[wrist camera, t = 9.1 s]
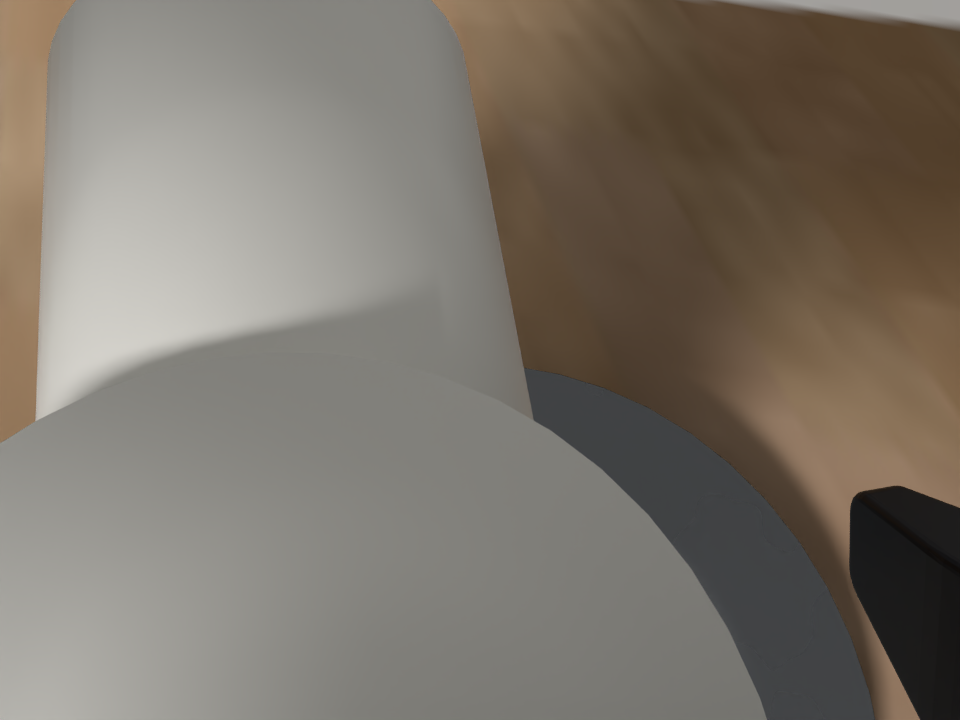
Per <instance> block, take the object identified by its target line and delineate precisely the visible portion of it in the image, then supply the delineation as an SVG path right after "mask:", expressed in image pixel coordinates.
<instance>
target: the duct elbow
mask: <svg viewBox="0 0 960 720" xmlns="http://www.w3.org/2000/svg"><path fill="white" fill-rule="evenodd" d="M0 720H767V718H766V715H765V712H764V709H763V706H762V703H761V700H760V697H759V695H758V693H757V691H756V688H755V686H754V684H753V682H752V680H751V677H750V675H749V673H748V671H747V669H746V667H745V664H744V662H743V660H742V658H741V656H740V654H739V651H738V649H737V647H736V645H735V643H734V641H733V638H732V636H731V634H730V632H729V630H728V628H727V626H726V625H725V623H724V621H723V620H722V618H721V617H720V615H719V613H718V612H717V610H716V608H715V607H714V605H713V604H712V602H711V600H710V599H709V597H708V595H707V594H706V592H705V591H704V589H703V587H702V586H701V584H700V582H699V581H698V579H697V577H696V576H695V574H694V573H693V571H692V569H691V568H690V567H689V565H688V564H687V563H686V562H685V560H684V559H683V558H682V557H681V555H680V554H679V553H678V552H677V550H676V549H675V548H674V546H673V545H672V544H671V543H670V541H669V540H668V539H667V538H666V536H665V535H664V534H663V533H662V531H661V530H660V529H659V528H658V526H657V525H656V524H655V523H654V521H653V520H652V519H651V518H650V516H649V515H648V514H647V513H646V512H645V511H644V510H643V509H642V508H641V507H640V506H639V505H638V504H637V503H636V502H635V501H634V500H633V499H632V498H631V497H630V496H629V495H628V494H627V493H626V492H625V491H624V490H622V489H621V488H620V487H619V486H618V485H617V484H616V483H615V482H614V481H613V480H612V479H611V478H610V477H609V476H608V475H607V474H606V473H605V472H604V471H603V470H602V469H601V468H600V467H598V466H597V465H596V464H594V463H593V462H592V461H590V460H589V459H588V458H586V457H585V456H584V455H583V454H581V453H580V452H579V451H577V450H576V449H575V448H573V447H572V446H571V445H569V444H568V443H567V442H565V441H564V440H563V439H561V438H560V437H559V436H557V435H556V434H555V433H554V432H552V431H551V430H549V429H547V428H546V427H544V426H542V425H540V424H539V423H537V422H535V421H534V419H533V414H532V409H531V403H530V398H529V393H528V388H527V382H526V377H525V372H524V367H523V362H522V356H521V351H520V346H519V341H518V335H517V330H516V325H515V320H514V314H513V309H512V304H511V299H510V293H509V288H508V283H507V278H506V272H505V267H504V262H503V257H502V252H501V246H500V241H499V236H498V231H497V225H496V220H495V215H494V210H493V204H492V199H491V194H490V189H489V183H488V178H487V173H486V168H485V162H484V157H483V152H482V147H481V142H480V136H479V131H478V126H477V121H476V115H475V110H474V105H473V100H472V94H471V89H470V84H469V79H468V73H467V68H466V63H465V58H464V53H463V50H462V47H461V45H460V42H459V40H458V37H457V35H456V33H455V31H454V30H453V28H452V26H451V25H450V23H449V22H448V20H447V18H446V17H445V15H444V14H443V13H442V12H441V11H440V10H439V9H438V8H437V6H436V5H435V4H434V3H433V2H432V1H431V0H76V1H75V2H74V3H73V5H72V6H71V8H70V9H69V11H68V12H67V13H66V15H65V16H64V18H63V19H62V20H61V22H60V24H59V26H58V29H57V31H56V33H55V35H54V38H53V40H52V44H51V48H50V53H49V58H48V73H47V102H46V132H45V161H44V190H43V219H42V248H41V278H40V307H39V336H38V365H37V395H36V421H35V422H34V423H32V424H30V425H29V426H27V427H26V428H24V429H22V430H21V431H19V432H18V433H16V434H14V435H13V436H11V437H10V438H8V439H6V440H5V441H3V442H2V443H0Z"/></svg>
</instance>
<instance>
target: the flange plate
mask: <svg viewBox="0 0 960 720" xmlns="http://www.w3.org/2000/svg"><path fill="white" fill-rule="evenodd" d="M524 372H525V377H526V382H527V388H528V393H529V398H530V403H531V409H532V414H533V419H534V421H535V422H537V423H539V424H540V425H542V426H544V427H546V428H547V429H549V430H551V431H552V432H554V433H555V434H556V435H557V436H559V437H560V438H561V439H563V440H564V441H565V442H567V443H568V444H569V445H571V446H572V447H573V448H575V449H576V450H577V451H579V452H580V453H581V454H583V455H584V456H585V457H586V458H588V459H589V460H590V461H592V462H593V463H594V464H596V465H597V466H598V467H600V468H601V469H602V470H603V471H604V472H605V473H606V474H607V475H608V476H609V477H610V478H611V479H612V480H613V481H614V482H615V483H616V484H617V485H618V486H619V487H620V488H621V489H622V490H624V491H625V492H626V493H627V494H628V495H629V496H630V497H631V498H632V499H633V500H634V501H635V502H636V503H637V504H638V505H639V506H640V507H641V508H642V509H643V510H644V511H645V512H646V513H647V514H648V515H649V516H650V518H651V519H652V520H653V521H654V523H655V524H656V525H657V526H658V528H659V529H660V530H661V531H662V533H663V534H664V535H665V536H666V538H667V539H668V540H669V541H670V543H671V544H672V545H673V546H674V548H675V549H676V550H677V552H678V553H679V554H680V555H681V557H682V558H683V559H684V560H685V562H686V563H687V564H688V565H689V567H690V568H691V569H692V571H693V573H694V574H695V576H696V577H697V579H698V581H699V582H700V584H701V586H702V587H703V589H704V591H705V592H706V594H707V595H708V597H709V599H710V600H711V602H712V604H713V605H714V607H715V608H716V610H717V612H718V613H719V615H720V617H721V618H722V620H723V621H724V623H725V625H726V626H727V628H728V630H729V632H730V634H731V636H732V638H733V641H734V643H735V645H736V647H737V649H738V651H739V654H740V656H741V658H742V660H743V662H744V664H745V667H746V669H747V671H748V673H749V675H750V677H751V680H752V682H753V684H754V686H755V688H756V691H757V693H758V695H759V697H760V700H761V703H762V706H763V709H764V712H765V715H766V718H767V720H875V717H874V712H873V707H872V702H871V698H870V693H869V690H868V687H867V684H866V681H865V678H864V675H863V672H862V669H861V666H860V663H859V660H858V657H857V654H856V651H855V648H854V645H853V642H852V639H851V637H850V635H849V633H848V630H847V628H846V626H845V624H844V622H843V620H842V618H841V615H840V613H839V611H838V609H837V607H836V605H835V603H834V600H833V598H832V596H831V594H830V592H829V590H828V588H827V586H826V584H825V583H824V581H823V580H822V578H821V576H820V575H819V573H818V572H817V570H816V568H815V567H814V565H813V563H812V562H811V560H810V559H809V557H808V555H807V554H806V552H805V550H804V549H803V547H802V546H801V544H800V542H799V541H798V540H797V538H796V537H795V536H794V535H793V533H792V532H791V531H790V530H789V528H788V527H787V526H786V525H785V523H784V522H783V521H782V520H781V518H780V517H779V516H778V515H777V513H776V512H775V511H774V510H773V508H772V507H771V506H770V504H769V503H768V502H767V501H766V500H765V499H764V498H763V497H762V496H761V495H760V494H759V493H758V492H757V491H756V490H755V489H754V488H753V487H752V486H751V485H750V484H749V483H748V482H747V481H746V480H745V479H744V478H743V477H742V476H741V475H740V474H739V473H738V472H737V471H736V470H735V469H734V468H733V467H732V466H731V465H730V464H729V463H728V462H727V461H725V460H724V459H723V458H721V457H720V456H719V455H718V454H716V453H715V452H714V451H712V450H711V449H710V448H709V447H707V446H706V445H705V444H703V443H702V442H701V441H700V440H698V439H697V438H696V437H694V436H693V435H692V434H691V433H689V432H687V431H686V430H684V429H682V428H681V427H679V426H677V425H676V424H674V423H672V422H671V421H669V420H667V419H666V418H664V417H662V416H661V415H659V414H657V413H656V412H654V411H652V410H651V409H649V408H647V407H645V406H643V405H641V404H638V403H636V402H634V401H632V400H630V399H627V398H625V397H623V396H621V395H618V394H616V393H614V392H612V391H609V390H607V389H605V388H602V387H599V386H595V385H592V384H589V383H586V382H582V381H579V380H576V379H573V378H569V377H566V376H563V375H560V374H554V373H549V372H543V371H538V370H532V369H526V368H524Z"/></svg>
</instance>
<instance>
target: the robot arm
mask: <svg viewBox="0 0 960 720" xmlns="http://www.w3.org/2000/svg"><path fill="white" fill-rule="evenodd" d="M849 566H850V575H851V579H852V583H853V586H854V589H855V592H856V594H857V596H858V598H859V600H860V602H861V604H862V606H863V608H864V610H865V612H866V614H867V616H868V618H869V620H870V622H871V624H872V625H873V627H874V629H875V631H876V633H877V635H878V637H879V639H880V641H881V643H882V645H883V647H884V649H885V651H886V653H887V655H888V657H889V659H890V661H891V663H892V665H893V667H894V669H895V671H896V673H897V675H898V677H899V679H900V681H901V683H902V685H903V687H904V689H905V691H906V693H907V695H908V697H909V698H910V700H911V702H912V704H913V706H914V708H915V710H916V712H917V714H918V716H919V718H920V720H960V508H958V507H956V506H953V505H950V504H948V503H945V502H942V501H940V500H937V499H934V498H932V497H929V496H926V495H924V494H921V493H919V492H916V491H913V490H911V489H908V488H905V487H902V486H890V487H885V488H879V489H874V490H868V491H862V492H859V493H858V494H857V495H856V496H855V497H854V498H853V500H852V503H851V508H850V558H849Z"/></svg>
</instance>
